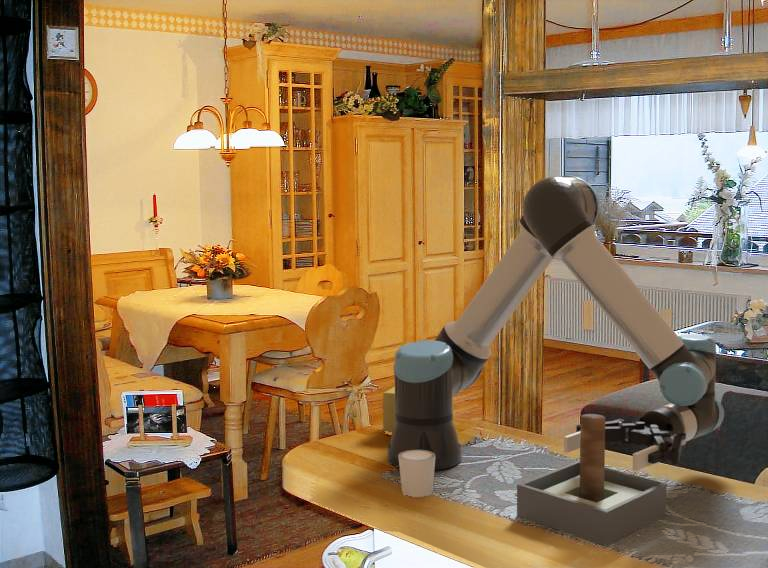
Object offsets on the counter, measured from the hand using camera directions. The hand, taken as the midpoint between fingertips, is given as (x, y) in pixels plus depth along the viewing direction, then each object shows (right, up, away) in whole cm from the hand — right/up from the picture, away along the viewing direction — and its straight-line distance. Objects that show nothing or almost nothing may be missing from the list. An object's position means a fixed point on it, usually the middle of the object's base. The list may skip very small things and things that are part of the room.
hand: (598, 453), depth 150 cm
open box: (-1, -11, +1) cm, 11 cm away
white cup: (-30, -10, +14) cm, 34 cm away
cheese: (-30, -5, +52) cm, 60 cm away
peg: (-1, -10, +1) cm, 10 cm away
